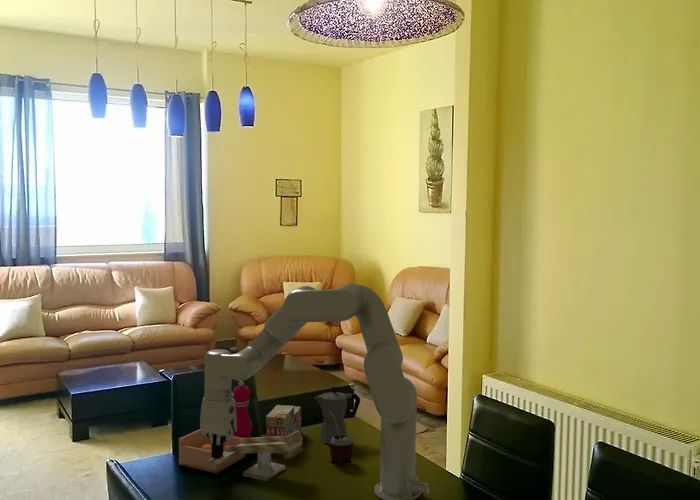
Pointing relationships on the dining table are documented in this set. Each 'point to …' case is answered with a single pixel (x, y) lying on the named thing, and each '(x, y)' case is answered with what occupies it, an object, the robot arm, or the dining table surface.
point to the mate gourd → (340, 447)
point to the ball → (207, 447)
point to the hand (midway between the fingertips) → (217, 456)
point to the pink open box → (204, 452)
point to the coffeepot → (335, 412)
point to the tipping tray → (264, 446)
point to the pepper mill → (242, 411)
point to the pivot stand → (264, 468)
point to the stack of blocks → (283, 421)
